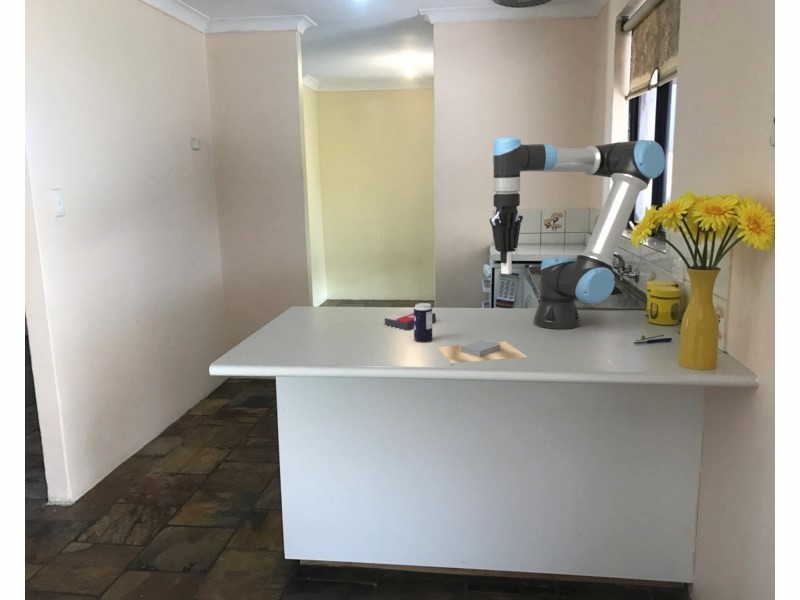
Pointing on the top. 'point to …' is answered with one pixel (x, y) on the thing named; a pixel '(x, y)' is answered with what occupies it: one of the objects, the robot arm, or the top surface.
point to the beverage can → (423, 322)
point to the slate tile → (480, 348)
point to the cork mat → (505, 352)
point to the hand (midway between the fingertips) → (506, 273)
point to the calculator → (404, 320)
